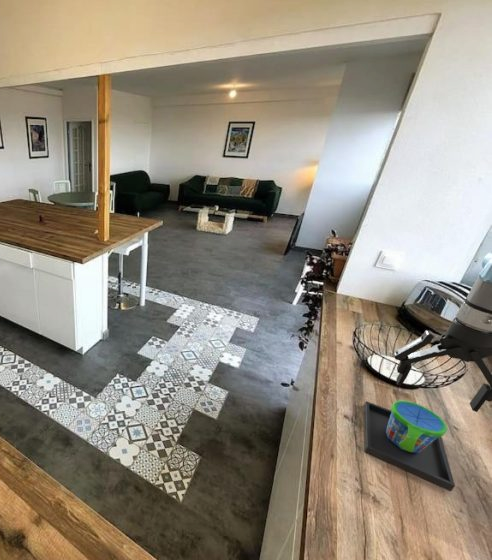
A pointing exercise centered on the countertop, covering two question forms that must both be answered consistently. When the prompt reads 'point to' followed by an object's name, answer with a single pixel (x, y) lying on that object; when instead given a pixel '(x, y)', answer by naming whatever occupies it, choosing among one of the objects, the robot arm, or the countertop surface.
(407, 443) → the snack cup
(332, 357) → the countertop surface
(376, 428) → the dark grey tray
